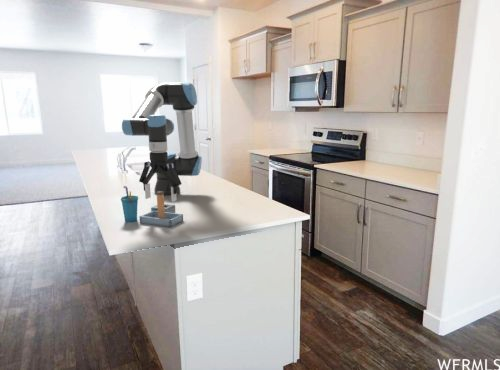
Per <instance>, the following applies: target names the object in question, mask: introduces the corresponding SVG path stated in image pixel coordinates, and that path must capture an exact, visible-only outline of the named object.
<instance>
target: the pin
mask: <svg viewBox="0 0 500 370" xmlns="http://www.w3.org/2000/svg"><path fill="white" fill-rule="evenodd" d="M156 204H157V208H158V218H160V219H165V208H164V204H165V195H164V192H163V191H159V192H157V194H156Z"/></svg>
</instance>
